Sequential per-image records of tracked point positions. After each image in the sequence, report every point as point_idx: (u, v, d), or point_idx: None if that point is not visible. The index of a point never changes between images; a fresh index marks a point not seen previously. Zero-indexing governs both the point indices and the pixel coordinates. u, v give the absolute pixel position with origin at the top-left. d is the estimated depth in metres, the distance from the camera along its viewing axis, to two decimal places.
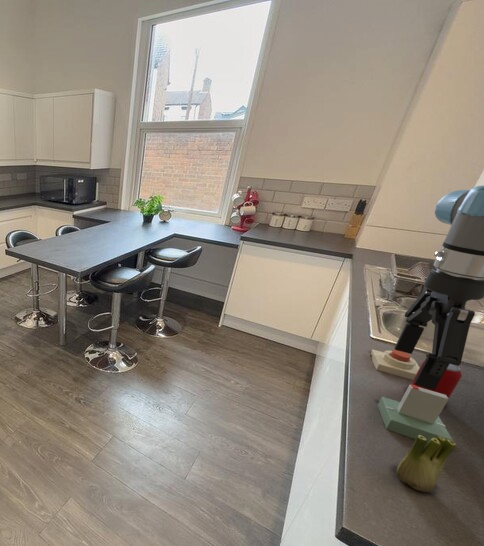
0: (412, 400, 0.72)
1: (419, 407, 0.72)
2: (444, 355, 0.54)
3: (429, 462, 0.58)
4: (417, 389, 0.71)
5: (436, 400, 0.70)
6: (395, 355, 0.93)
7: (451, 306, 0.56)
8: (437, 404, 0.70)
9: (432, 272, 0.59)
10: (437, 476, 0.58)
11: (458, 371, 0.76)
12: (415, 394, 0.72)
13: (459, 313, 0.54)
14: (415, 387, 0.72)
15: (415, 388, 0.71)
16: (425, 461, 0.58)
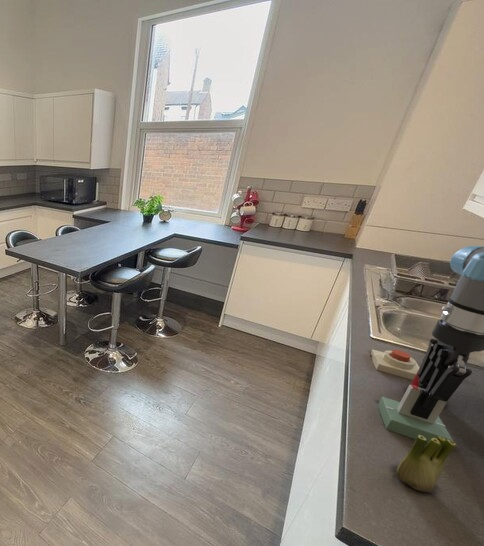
0: (412, 400, 0.72)
1: None
2: None
3: (429, 462, 0.58)
4: (417, 389, 0.71)
5: None
6: (395, 355, 0.93)
7: (456, 356, 0.63)
8: (437, 404, 0.70)
9: (439, 324, 0.66)
10: (437, 476, 0.58)
11: None
12: (415, 394, 0.72)
13: (457, 372, 0.62)
14: (415, 387, 0.72)
15: (415, 388, 0.71)
16: (425, 461, 0.58)
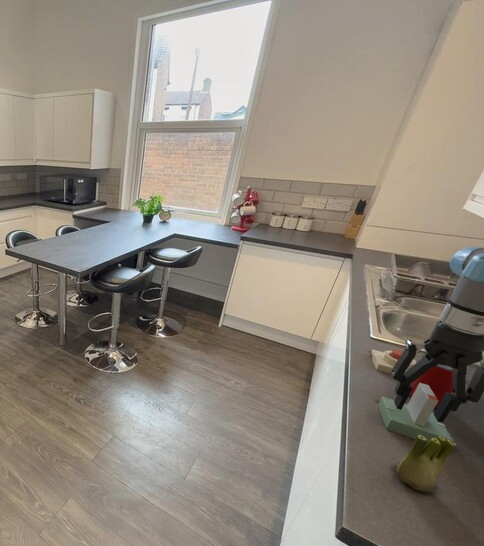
0: None
1: None
2: None
3: (429, 462, 0.58)
4: (436, 397, 0.69)
5: None
6: (395, 355, 0.93)
7: (482, 357, 0.64)
8: None
9: (473, 338, 0.62)
10: (437, 476, 0.58)
11: None
12: None
13: None
14: (434, 397, 0.69)
15: (436, 398, 0.68)
16: (425, 461, 0.58)
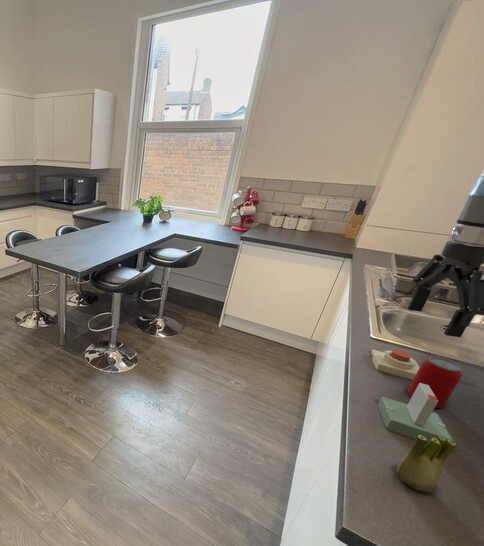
0: None
1: None
2: (475, 308, 0.69)
3: (429, 462, 0.58)
4: (436, 397, 0.69)
5: None
6: (395, 355, 0.93)
7: (471, 270, 0.71)
8: None
9: (451, 244, 0.74)
10: (437, 476, 0.58)
11: (458, 371, 0.76)
12: None
13: (482, 274, 0.69)
14: (434, 397, 0.69)
15: (436, 398, 0.68)
16: (425, 461, 0.58)
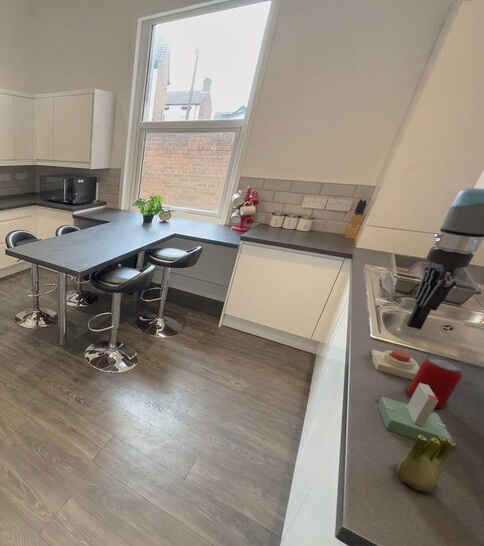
0: None
1: None
2: None
3: (429, 462, 0.58)
4: (436, 397, 0.69)
5: None
6: (395, 355, 0.93)
7: (445, 272, 0.80)
8: None
9: (432, 249, 0.83)
10: (437, 476, 0.58)
11: (458, 371, 0.76)
12: None
13: (445, 284, 0.79)
14: (434, 397, 0.69)
15: (436, 398, 0.68)
16: (425, 461, 0.58)
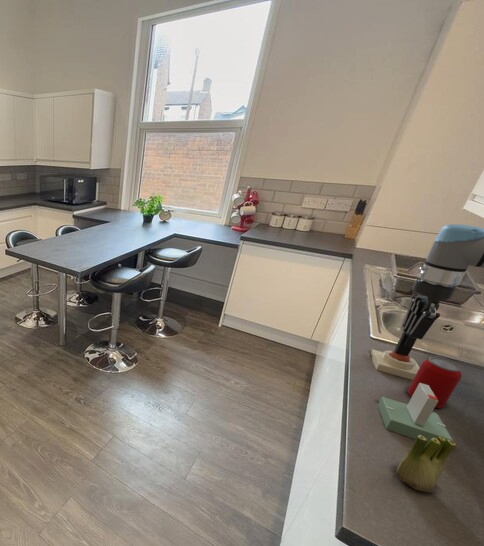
0: None
1: None
2: None
3: (429, 462, 0.58)
4: (436, 397, 0.69)
5: None
6: (395, 356, 0.93)
7: (430, 304, 0.84)
8: None
9: (418, 281, 0.86)
10: (437, 476, 0.58)
11: (458, 371, 0.76)
12: None
13: (429, 315, 0.83)
14: (434, 397, 0.69)
15: (436, 398, 0.68)
16: (425, 461, 0.58)
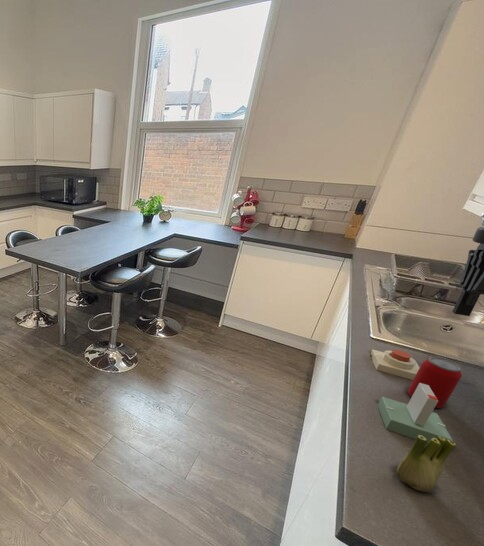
0: None
1: None
2: None
3: (429, 462, 0.58)
4: (436, 397, 0.69)
5: None
6: (395, 355, 0.93)
7: None
8: None
9: (480, 229, 0.78)
10: (437, 476, 0.58)
11: (458, 371, 0.76)
12: None
13: None
14: (434, 397, 0.69)
15: (436, 398, 0.68)
16: (425, 461, 0.58)
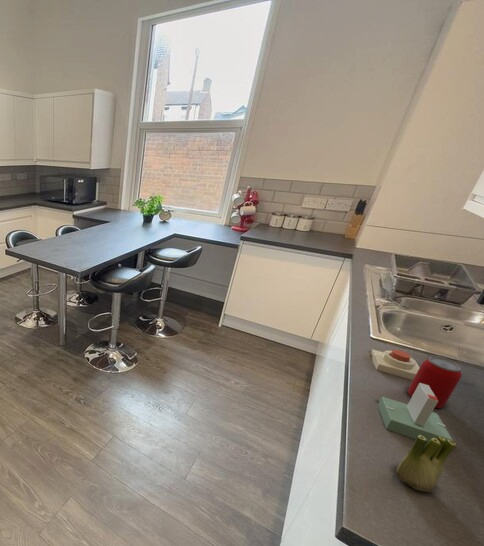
0: None
1: None
2: None
3: (429, 462, 0.58)
4: (436, 397, 0.69)
5: None
6: (395, 355, 0.93)
7: None
8: None
9: None
10: (437, 476, 0.58)
11: (458, 371, 0.76)
12: None
13: None
14: (434, 397, 0.69)
15: (436, 398, 0.68)
16: (425, 461, 0.58)
